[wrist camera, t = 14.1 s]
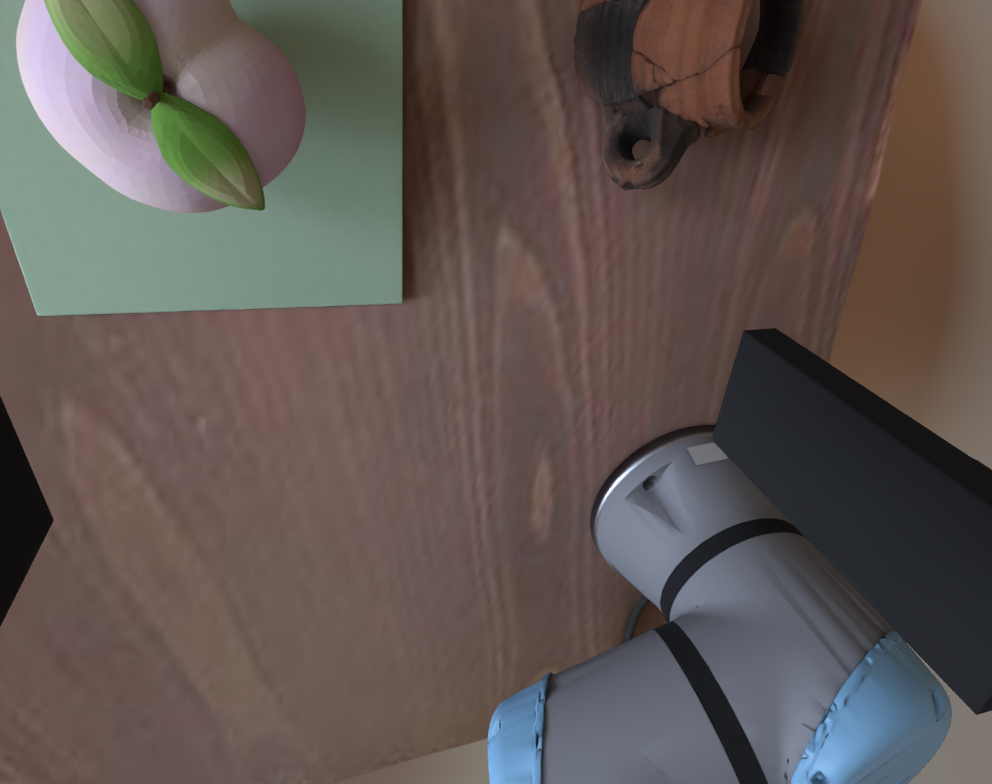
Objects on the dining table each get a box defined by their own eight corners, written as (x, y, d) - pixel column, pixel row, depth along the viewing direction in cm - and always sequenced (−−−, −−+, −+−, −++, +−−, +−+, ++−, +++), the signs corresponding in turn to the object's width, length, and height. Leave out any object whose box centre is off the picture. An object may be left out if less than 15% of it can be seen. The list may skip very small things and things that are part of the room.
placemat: (401, 299, 35) (402, 303, 34) (41, 311, 30) (37, 316, 30) (401, -224, 23) (403, -229, 23) (-184, -342, 19) (-197, -351, 18)
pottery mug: (604, -114, 27) (786, -143, 23) (682, 3, 35) (831, -1, 30) (519, 151, 30) (668, 177, 25) (609, 207, 37) (737, 235, 32)
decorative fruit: (16, 46, 24) (-125, 70, 16) (154, -107, 23) (76, -165, 15) (215, 219, 29) (184, 303, 21) (336, 103, 28) (352, 144, 20)
